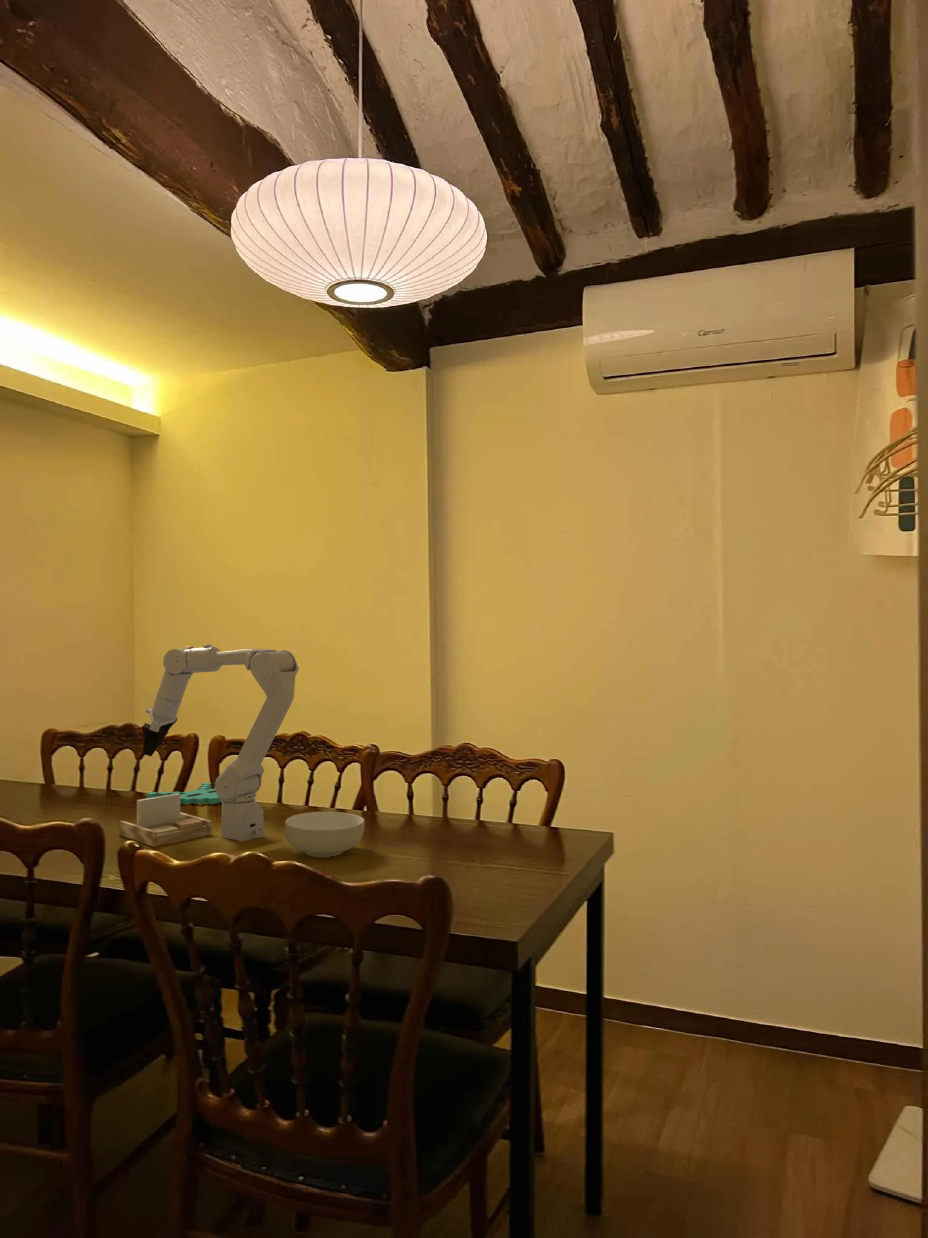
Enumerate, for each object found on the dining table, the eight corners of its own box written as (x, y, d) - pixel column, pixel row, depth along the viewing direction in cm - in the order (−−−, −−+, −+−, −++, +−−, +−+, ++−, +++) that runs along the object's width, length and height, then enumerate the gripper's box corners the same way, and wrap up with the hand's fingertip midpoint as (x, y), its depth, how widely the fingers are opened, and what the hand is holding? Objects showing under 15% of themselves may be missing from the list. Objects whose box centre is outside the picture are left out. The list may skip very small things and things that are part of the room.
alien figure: (146, 801, 231) (190, 811, 219) (146, 793, 231) (190, 803, 219) (208, 790, 247) (251, 799, 235) (208, 782, 247) (251, 791, 235)
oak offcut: (202, 834, 190) (202, 821, 190) (181, 838, 186) (181, 825, 186) (192, 831, 192) (192, 818, 192) (171, 835, 188) (172, 822, 188)
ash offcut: (178, 839, 185) (178, 828, 185) (156, 844, 181) (156, 832, 181) (168, 836, 188) (168, 825, 188) (146, 840, 184) (146, 829, 184)
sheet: (180, 828, 195) (180, 794, 195) (139, 836, 187) (139, 801, 187) (177, 827, 196) (177, 793, 196) (136, 836, 188) (136, 800, 188)
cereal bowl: (324, 869, 168) (325, 833, 168) (267, 855, 177) (268, 821, 177) (380, 850, 182) (380, 817, 182) (324, 838, 191) (325, 807, 191)
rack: (211, 838, 190) (211, 821, 190) (153, 851, 179) (153, 832, 179) (176, 827, 200) (176, 811, 200) (119, 839, 189) (119, 821, 189)
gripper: (160, 683, 204) (142, 734, 205) (144, 700, 189) (126, 754, 191) (188, 692, 205) (171, 743, 207) (175, 710, 191) (156, 764, 192)
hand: (151, 749), depth 199 cm, fingers open, 7 cm apart
